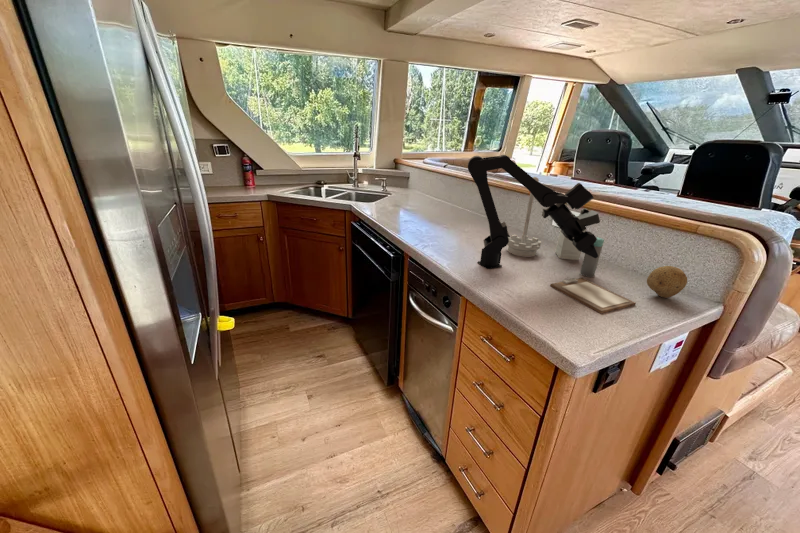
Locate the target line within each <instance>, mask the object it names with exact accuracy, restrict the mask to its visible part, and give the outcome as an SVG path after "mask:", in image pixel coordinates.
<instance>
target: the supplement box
mask: <svg viewBox="0 0 800 533" xmlns="http://www.w3.org/2000/svg"><path fill="white" fill-rule="evenodd" d="M585 231H588V228H587V229H585V230H584V231H583V232H585ZM572 243H573V242H572V241H570V240H568V239H567V238H566V237H565V236H564V235H563V234H562V233H561V229H560V228H559V235H558V238H557V243H556V247H555V251H554V253H555V254H556V255H557V257H558V259H562V260H571V261H572V260H573V261H579V260H580V257H581V254H582V252H581V251H578V250H577V249H576V247H575V246H574V245H573V244H572Z"/></svg>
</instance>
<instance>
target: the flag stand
mask: <svg viewBox="0 0 800 533" xmlns="http://www.w3.org/2000/svg"><path fill="white" fill-rule="evenodd" d="M532 178H534V179H535V180H536V181H538V182H540V180H539V177H537V176H533V177H532ZM534 199H535V198H534V197H533V195H532V194H531V193H530V192H529V198H528V203H527V210H526V215H525V221H524V226H523V232H522V234H521V237H519V236H518V235H517V234H512V235H510V237H508V239H509V242H508V244H507V245H506V246H508V247H507V252H509V254H511V253H512V254H511V255H514V256H518V257H523V258H524V257H534V256H536V254H537V252H538V250H539V249H540V248H541V245H542V240H540V239H539V238H538V237H532V238H529V235H528V231H529V230H528V229H529V226H530V225H529V223H530V220H531V214H532V208H533V203H534Z"/></svg>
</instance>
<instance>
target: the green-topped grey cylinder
mask: <svg viewBox="0 0 800 533" xmlns="http://www.w3.org/2000/svg"><path fill="white" fill-rule="evenodd" d="M595 237H596V238H597V240H596V242H595V243H594V247H595V249H596V252H597V254H598V257H597V258H594V257H592V256H589V255H587V254H585V253H584V255H583V260H582V264H581V267H580V272H579V275H582V276H584V277H587V278H592V277H595V274H596V271H597V267H598V263H599V261H600V260H599V259H600V256H601V253H602V248H603V245H604V243H605V239H604V238H602V237H598V236H595Z"/></svg>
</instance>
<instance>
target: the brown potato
mask: <svg viewBox="0 0 800 533" xmlns="http://www.w3.org/2000/svg"><path fill="white" fill-rule="evenodd" d="M646 284H647V286H648V287H649V289H651V290H652V291H653V292H655V294H656V295H657V296H659V297H661V298H663V299H666V298H671V297H674V296H675V295H678V294H680V292H681V291H682V290H684V289H685V287H686V286H687V284H688V277H687V274H686V273H685V271H683V270H682V269H681V268H679V267H676V266H673V265H665V266H664V265H663V266H659V267H657V268H655V269H653V270H652V271H651V272H650V273H649V275H648V276H647V278H646Z"/></svg>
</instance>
